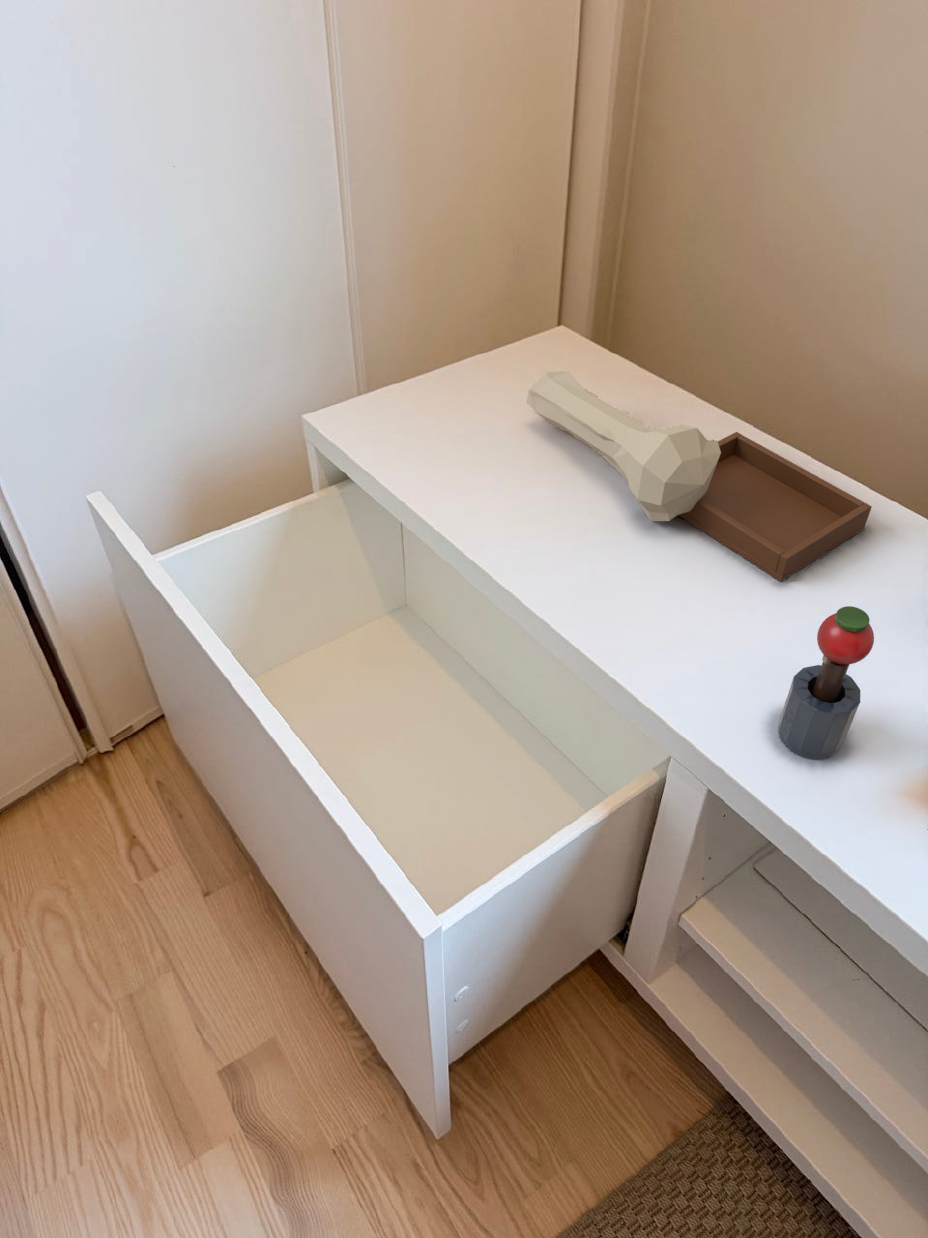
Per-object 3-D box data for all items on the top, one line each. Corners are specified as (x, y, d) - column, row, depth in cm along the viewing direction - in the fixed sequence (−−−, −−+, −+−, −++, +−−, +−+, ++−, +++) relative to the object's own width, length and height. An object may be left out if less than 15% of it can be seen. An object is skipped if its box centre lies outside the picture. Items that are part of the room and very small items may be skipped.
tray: (864, 529, 84) (872, 506, 82) (780, 582, 79) (787, 558, 77) (731, 453, 93) (736, 431, 91) (649, 497, 88) (653, 474, 86)
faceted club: (649, 542, 81) (493, 424, 97) (717, 531, 85) (557, 420, 102) (681, 448, 76) (511, 340, 92) (751, 442, 81) (577, 340, 97)
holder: (853, 753, 66) (873, 706, 62) (795, 765, 65) (812, 719, 62) (822, 707, 69) (840, 660, 65) (767, 718, 68) (781, 671, 65)
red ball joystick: (845, 744, 66) (892, 630, 58) (800, 753, 65) (841, 640, 57) (821, 709, 68) (863, 594, 60) (778, 717, 68) (815, 603, 60)
